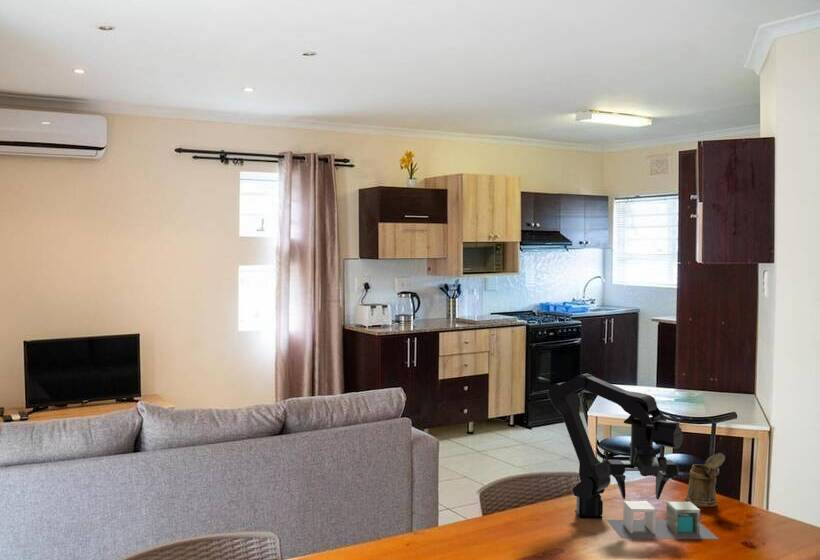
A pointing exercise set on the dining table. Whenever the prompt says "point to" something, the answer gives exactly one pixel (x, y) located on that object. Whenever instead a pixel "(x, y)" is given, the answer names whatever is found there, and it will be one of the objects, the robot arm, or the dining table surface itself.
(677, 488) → the dining table surface
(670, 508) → the cover
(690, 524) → the cube
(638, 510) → the cover
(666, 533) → the mat
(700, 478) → the wooden mug
